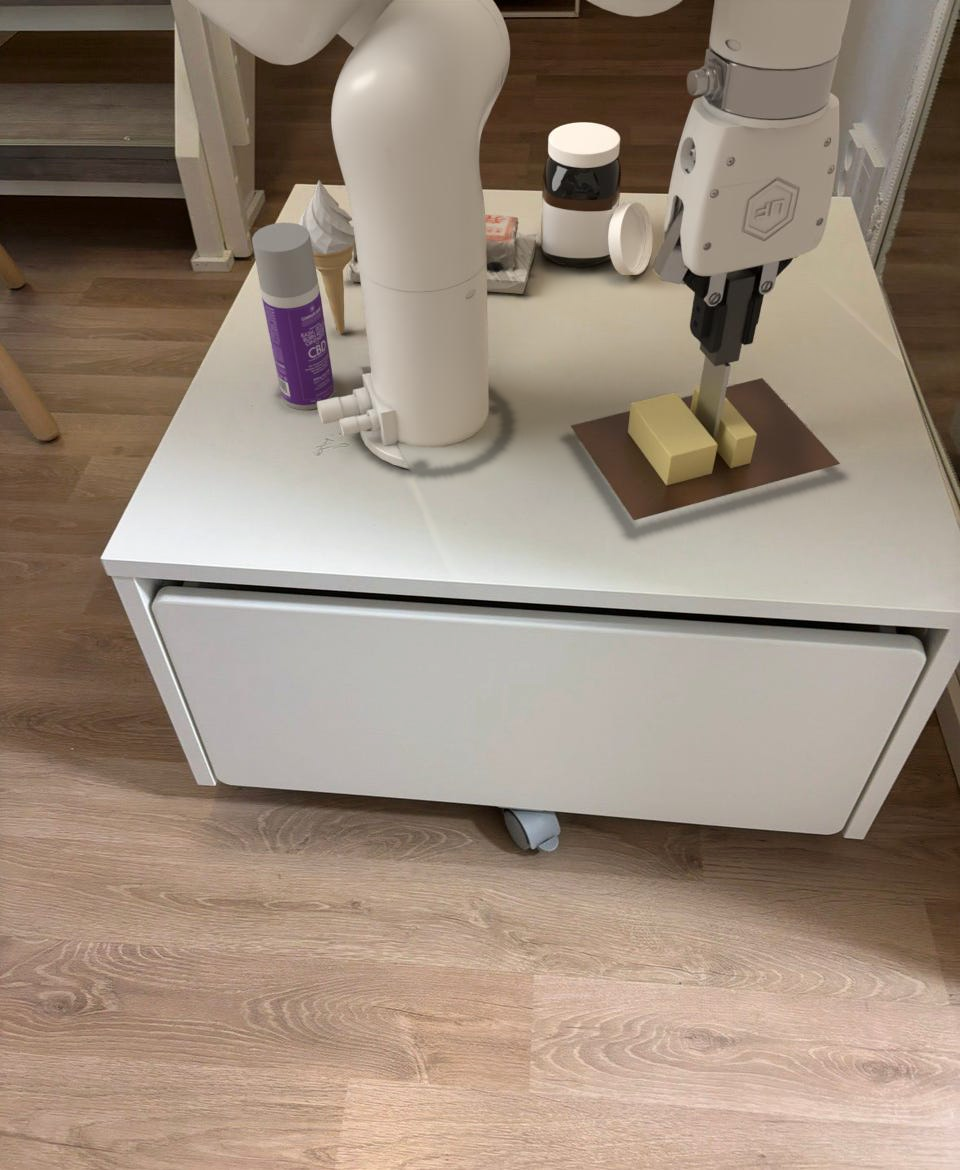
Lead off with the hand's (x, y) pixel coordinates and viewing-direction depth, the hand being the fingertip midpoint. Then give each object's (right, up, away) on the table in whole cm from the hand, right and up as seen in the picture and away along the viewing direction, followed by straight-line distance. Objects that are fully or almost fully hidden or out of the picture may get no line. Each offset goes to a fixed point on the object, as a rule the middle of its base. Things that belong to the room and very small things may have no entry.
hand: (721, 337), depth 75 cm
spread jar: (-6, +16, +30) cm, 35 cm away
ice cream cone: (-31, +5, +22) cm, 38 cm away
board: (0, -8, +9) cm, 12 cm away
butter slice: (+2, -6, +8) cm, 10 cm away
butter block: (-3, -8, +7) cm, 11 cm away
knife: (0, -6, +6) cm, 9 cm away
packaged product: (-21, +14, +30) cm, 39 cm away
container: (-33, -1, +16) cm, 36 cm away
